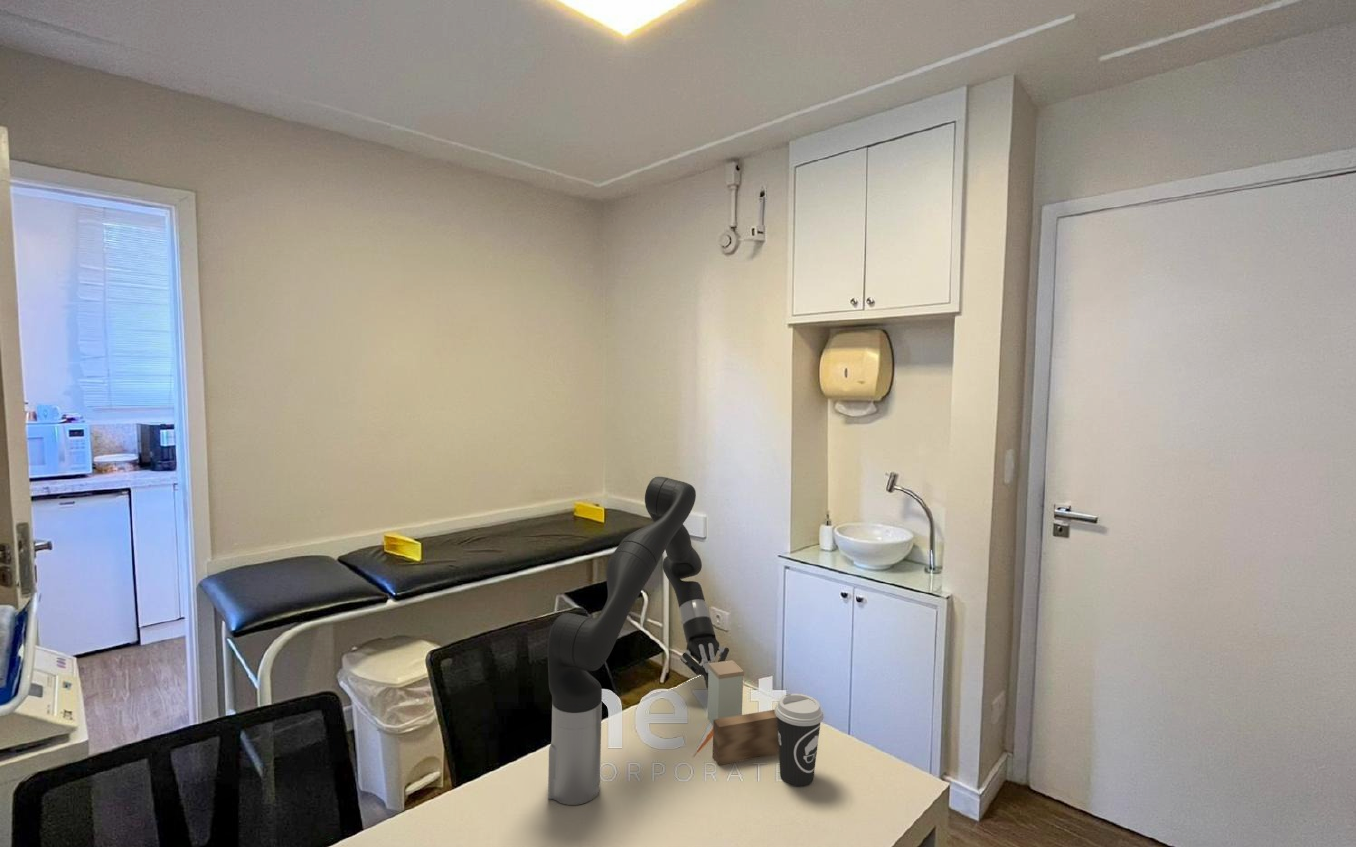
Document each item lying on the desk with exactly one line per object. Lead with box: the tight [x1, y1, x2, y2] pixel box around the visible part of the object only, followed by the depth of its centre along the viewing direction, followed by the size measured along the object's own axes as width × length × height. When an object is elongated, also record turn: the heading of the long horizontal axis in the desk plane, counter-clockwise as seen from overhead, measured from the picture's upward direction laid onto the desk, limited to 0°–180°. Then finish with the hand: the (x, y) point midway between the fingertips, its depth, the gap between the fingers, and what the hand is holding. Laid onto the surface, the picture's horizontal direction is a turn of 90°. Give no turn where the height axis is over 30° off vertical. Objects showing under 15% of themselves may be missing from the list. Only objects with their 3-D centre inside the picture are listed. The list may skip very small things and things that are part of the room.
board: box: [712, 709, 779, 766], centre depth 131 cm, size 16×3×8 cm, turn 110°
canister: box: [706, 659, 745, 726], centre depth 144 cm, size 6×6×13 cm
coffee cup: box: [773, 693, 825, 788], centre depth 124 cm, size 10×10×15 cm
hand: (714, 689), depth 150 cm, fingers closed
